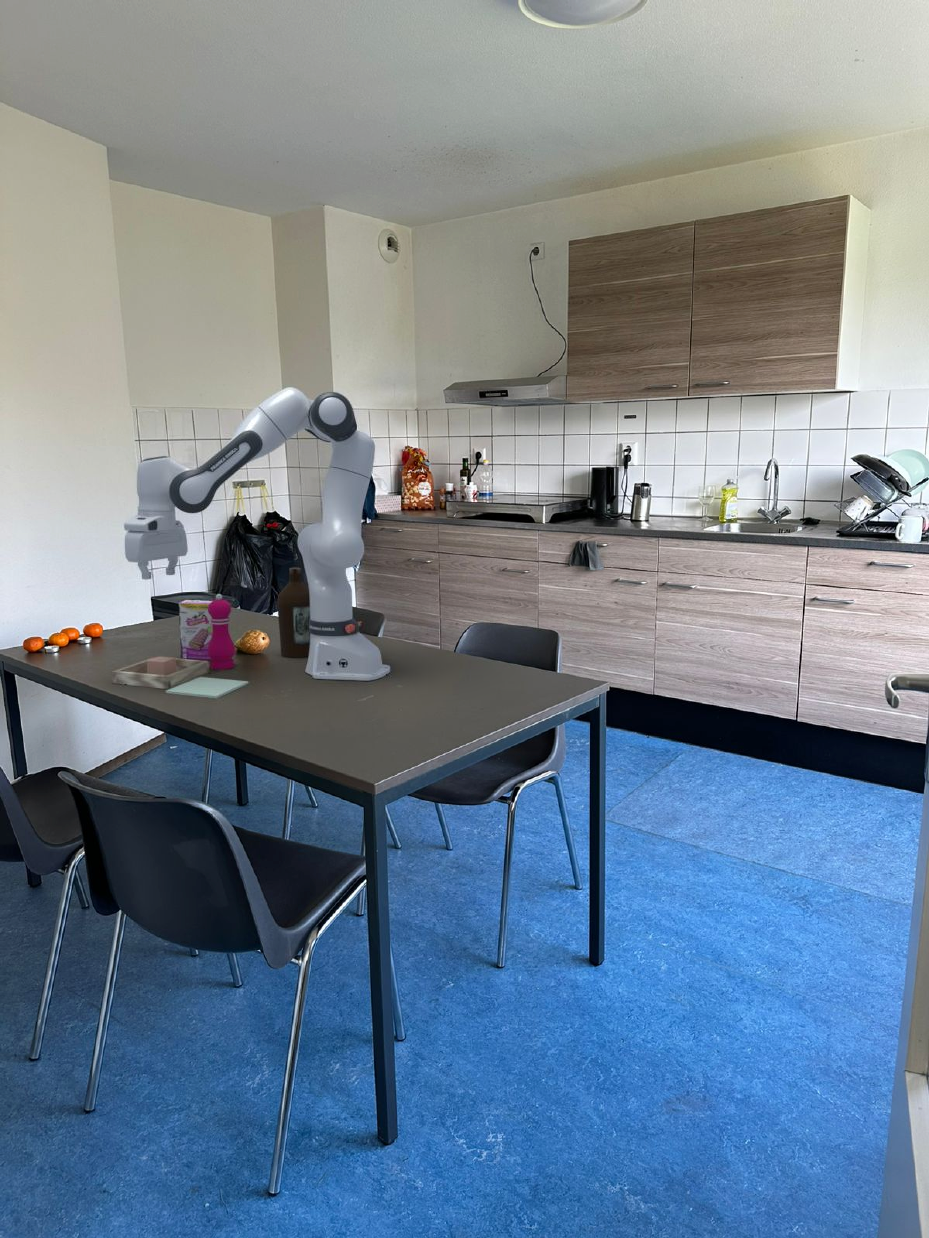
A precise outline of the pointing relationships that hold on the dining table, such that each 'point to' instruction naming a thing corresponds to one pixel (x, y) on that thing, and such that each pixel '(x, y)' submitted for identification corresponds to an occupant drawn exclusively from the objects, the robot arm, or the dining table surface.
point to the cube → (161, 666)
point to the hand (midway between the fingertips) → (158, 577)
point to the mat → (207, 687)
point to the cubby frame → (139, 678)
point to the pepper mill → (220, 635)
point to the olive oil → (294, 617)
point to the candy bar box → (195, 629)
